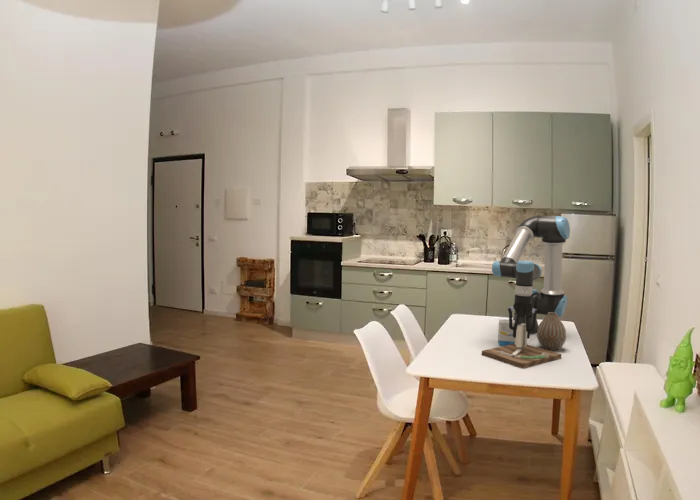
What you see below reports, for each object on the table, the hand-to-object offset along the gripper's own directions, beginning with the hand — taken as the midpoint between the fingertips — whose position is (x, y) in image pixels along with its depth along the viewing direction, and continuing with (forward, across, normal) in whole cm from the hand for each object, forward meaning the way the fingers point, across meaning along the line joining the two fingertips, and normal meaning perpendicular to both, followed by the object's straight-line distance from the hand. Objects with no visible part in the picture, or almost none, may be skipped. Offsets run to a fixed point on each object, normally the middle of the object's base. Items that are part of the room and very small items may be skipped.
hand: (520, 344), depth 223 cm
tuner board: (+5, 0, -3) cm, 6 cm away
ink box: (+5, -4, +18) cm, 19 cm away
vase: (+5, +17, +16) cm, 23 cm away
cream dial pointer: (+2, -1, -3) cm, 4 cm away
